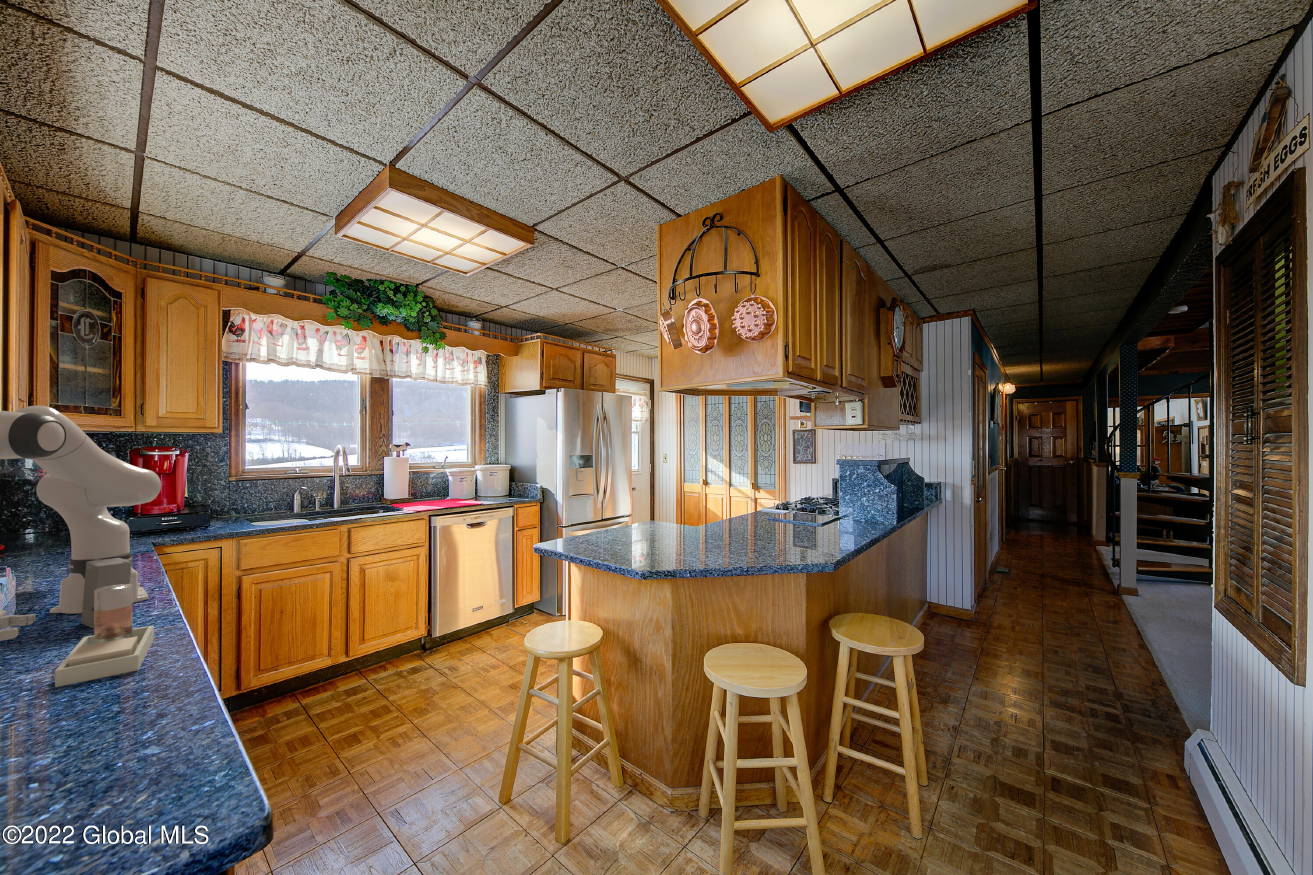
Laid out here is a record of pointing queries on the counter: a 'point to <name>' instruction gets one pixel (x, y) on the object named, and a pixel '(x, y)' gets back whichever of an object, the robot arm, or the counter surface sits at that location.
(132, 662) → the tote
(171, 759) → the counter surface
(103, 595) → the steel can
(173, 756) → the counter surface
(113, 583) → the skincare box
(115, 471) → the robot arm
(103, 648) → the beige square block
